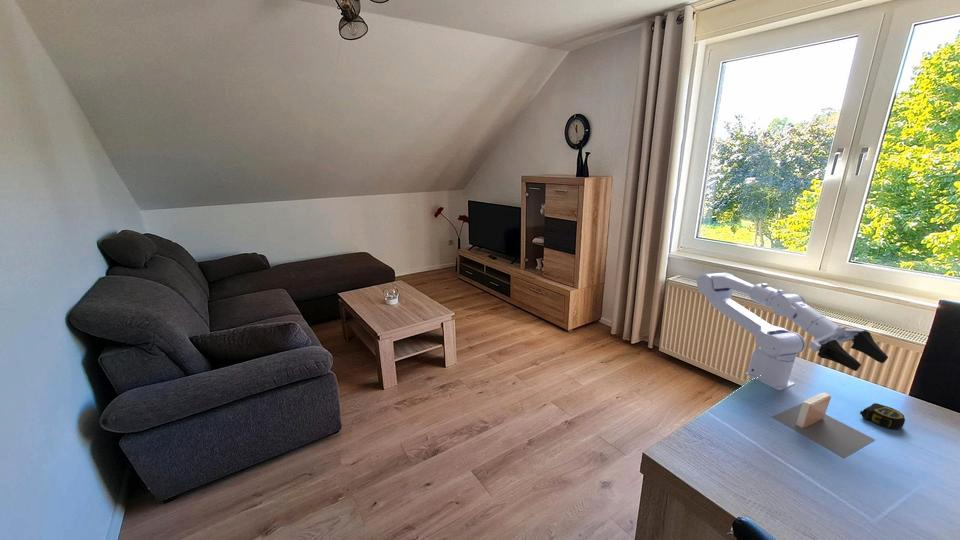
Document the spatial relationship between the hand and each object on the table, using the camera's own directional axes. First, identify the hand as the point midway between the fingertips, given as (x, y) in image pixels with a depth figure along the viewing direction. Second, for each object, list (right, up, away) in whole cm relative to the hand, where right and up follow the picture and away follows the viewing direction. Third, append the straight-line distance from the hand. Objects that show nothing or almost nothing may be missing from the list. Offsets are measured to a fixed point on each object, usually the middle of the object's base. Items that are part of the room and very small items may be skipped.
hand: (871, 364), depth 89 cm
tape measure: (+9, -17, +8) cm, 21 cm away
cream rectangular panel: (-9, -16, +7) cm, 20 cm away
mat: (-8, -17, +5) cm, 20 cm away
